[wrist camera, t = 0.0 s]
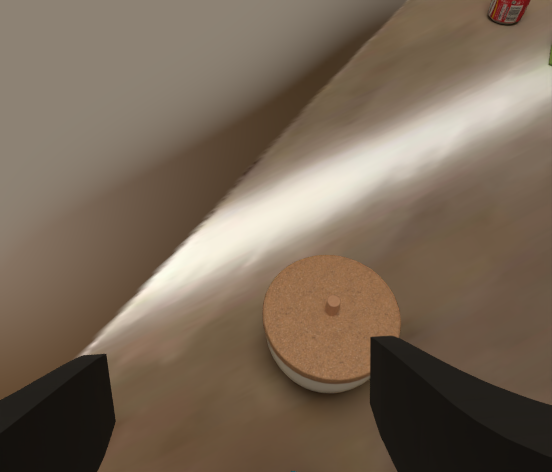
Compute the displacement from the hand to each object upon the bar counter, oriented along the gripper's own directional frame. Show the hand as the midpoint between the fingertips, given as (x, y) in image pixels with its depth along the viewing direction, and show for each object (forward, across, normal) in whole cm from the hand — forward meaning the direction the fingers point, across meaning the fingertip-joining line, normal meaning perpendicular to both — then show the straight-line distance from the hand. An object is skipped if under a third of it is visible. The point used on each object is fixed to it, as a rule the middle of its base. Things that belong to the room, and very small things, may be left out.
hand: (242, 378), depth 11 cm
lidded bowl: (+31, -7, +16) cm, 36 cm away
